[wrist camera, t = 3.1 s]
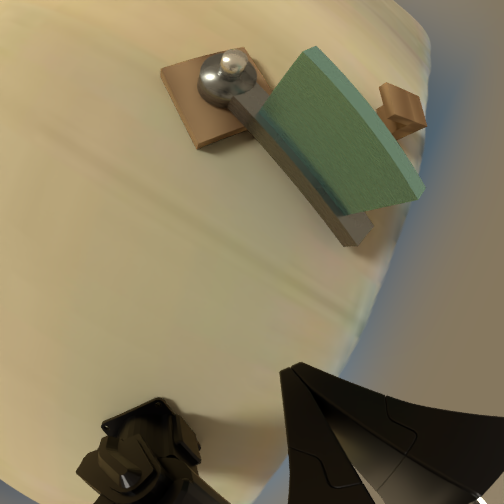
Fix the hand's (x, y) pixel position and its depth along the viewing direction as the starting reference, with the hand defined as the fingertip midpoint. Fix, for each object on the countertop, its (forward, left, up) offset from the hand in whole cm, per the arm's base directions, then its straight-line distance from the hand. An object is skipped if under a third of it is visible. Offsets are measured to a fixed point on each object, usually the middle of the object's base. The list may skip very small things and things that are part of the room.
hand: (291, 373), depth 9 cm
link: (+10, +9, -11) cm, 18 cm away
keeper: (+23, +9, -13) cm, 28 cm away
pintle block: (+8, +16, -13) cm, 22 cm away
